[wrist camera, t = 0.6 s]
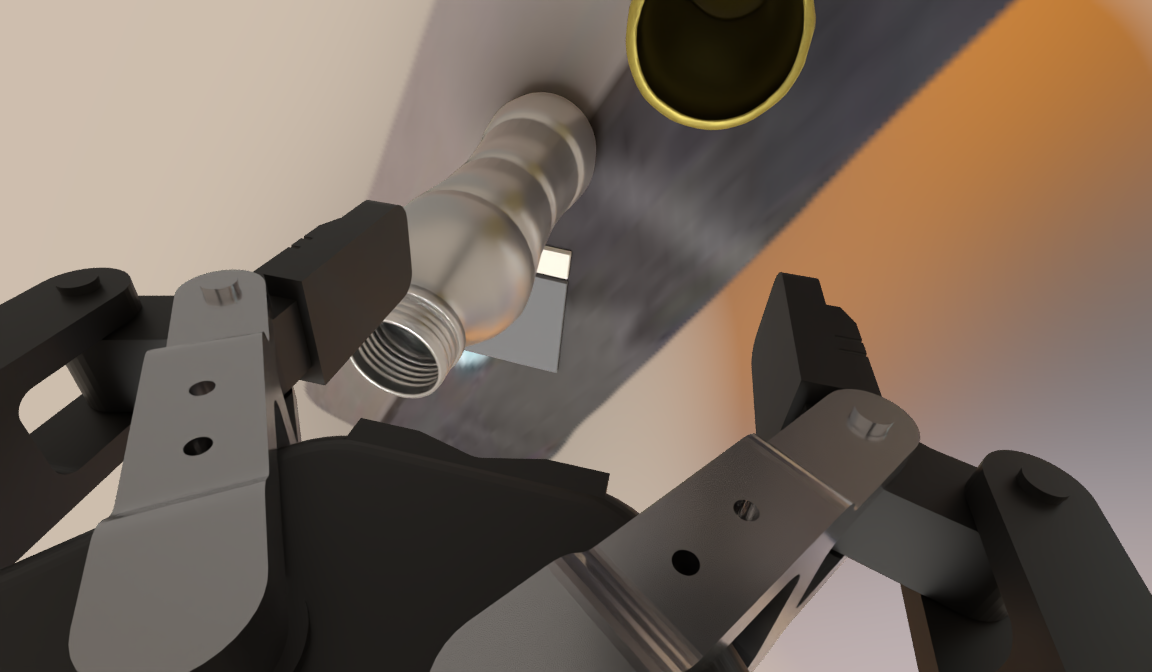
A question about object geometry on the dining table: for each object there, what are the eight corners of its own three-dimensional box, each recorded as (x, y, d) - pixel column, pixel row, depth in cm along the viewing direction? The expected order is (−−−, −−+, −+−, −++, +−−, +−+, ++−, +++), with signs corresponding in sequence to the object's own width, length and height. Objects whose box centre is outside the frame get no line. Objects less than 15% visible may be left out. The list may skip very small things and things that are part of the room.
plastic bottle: (488, 165, 36) (302, 383, 21) (516, 59, 32) (304, 244, 17) (581, 207, 36) (461, 450, 22) (622, 109, 32) (505, 333, 17)
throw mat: (447, 223, 40) (444, 227, 39) (571, 251, 39) (569, 255, 38) (453, 343, 47) (451, 347, 47) (557, 369, 46) (556, 373, 46)
